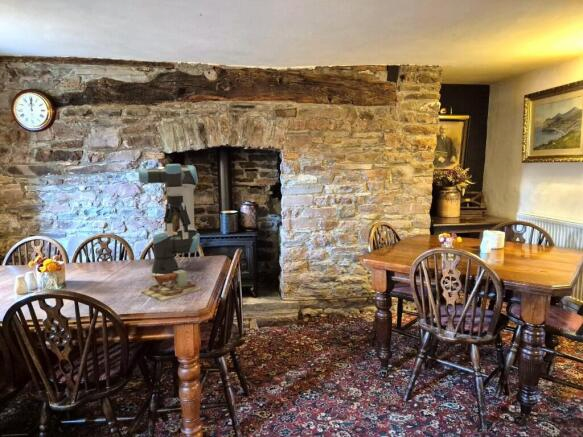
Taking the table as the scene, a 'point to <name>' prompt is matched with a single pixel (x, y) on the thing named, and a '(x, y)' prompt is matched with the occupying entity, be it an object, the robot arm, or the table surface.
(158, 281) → the bull figurine
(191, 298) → the table surface
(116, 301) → the table surface
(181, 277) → the sage-green tail block
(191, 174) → the robot arm
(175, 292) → the beech board
